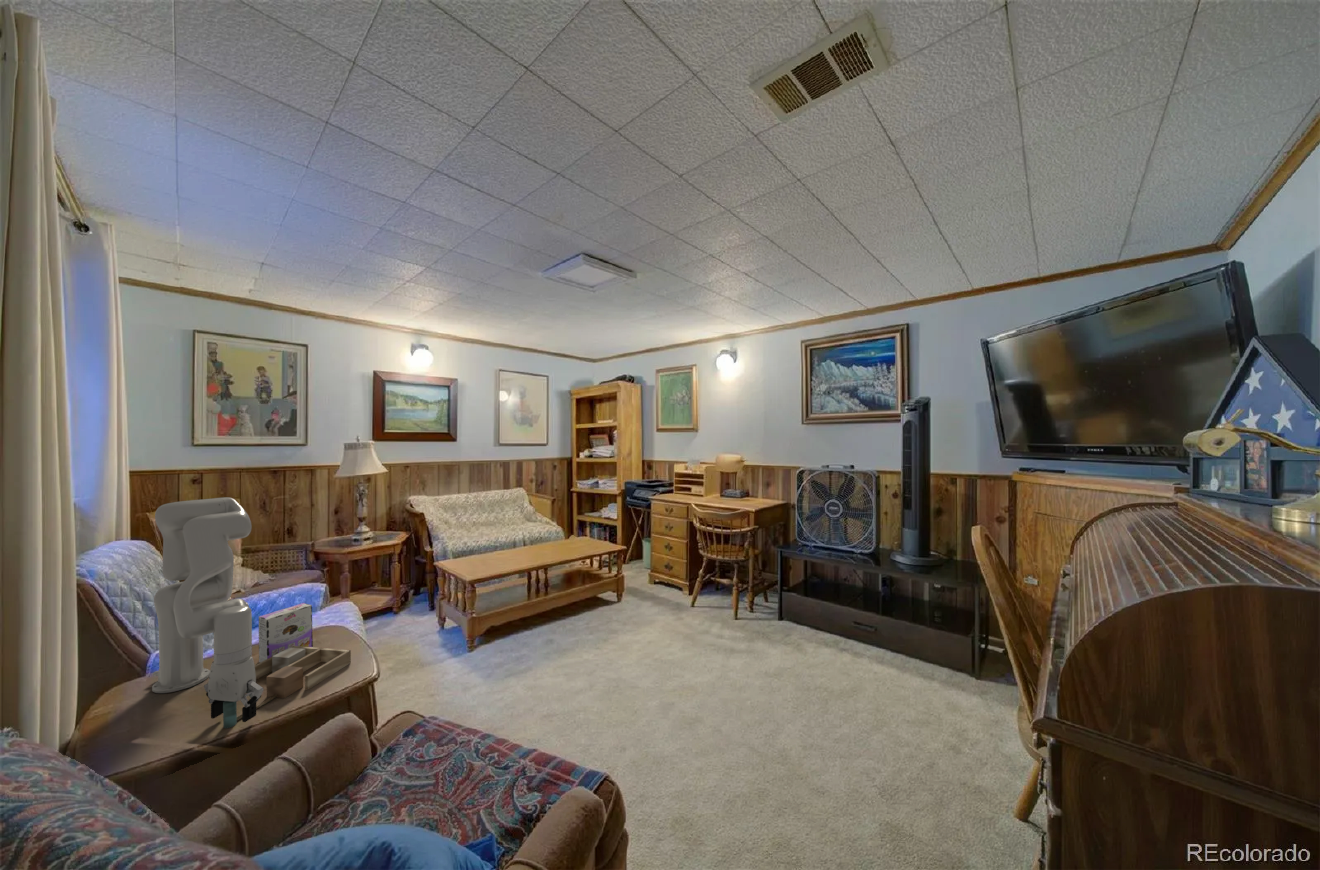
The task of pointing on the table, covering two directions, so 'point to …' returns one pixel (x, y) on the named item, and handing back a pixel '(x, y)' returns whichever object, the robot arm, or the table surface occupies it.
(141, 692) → the table surface
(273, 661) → the grey block
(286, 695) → the tethered block
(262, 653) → the candy box
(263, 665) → the lane organizer
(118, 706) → the table surface
